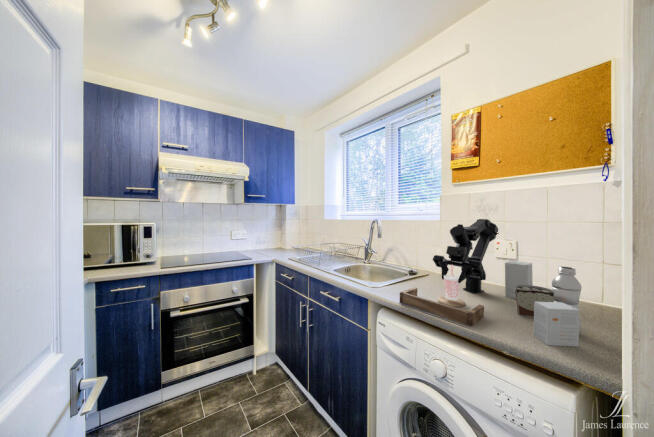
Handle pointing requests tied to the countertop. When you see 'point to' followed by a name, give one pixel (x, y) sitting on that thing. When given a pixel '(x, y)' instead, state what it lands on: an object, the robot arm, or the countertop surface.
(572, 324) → the small box
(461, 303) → the cork coaster
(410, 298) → the walnut bay
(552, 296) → the food container
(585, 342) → the countertop surface
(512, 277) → the skincare box
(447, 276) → the beverage cup
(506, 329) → the countertop surface
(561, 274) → the plastic bottle
